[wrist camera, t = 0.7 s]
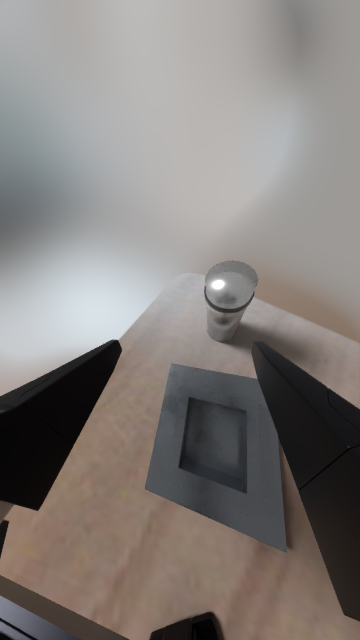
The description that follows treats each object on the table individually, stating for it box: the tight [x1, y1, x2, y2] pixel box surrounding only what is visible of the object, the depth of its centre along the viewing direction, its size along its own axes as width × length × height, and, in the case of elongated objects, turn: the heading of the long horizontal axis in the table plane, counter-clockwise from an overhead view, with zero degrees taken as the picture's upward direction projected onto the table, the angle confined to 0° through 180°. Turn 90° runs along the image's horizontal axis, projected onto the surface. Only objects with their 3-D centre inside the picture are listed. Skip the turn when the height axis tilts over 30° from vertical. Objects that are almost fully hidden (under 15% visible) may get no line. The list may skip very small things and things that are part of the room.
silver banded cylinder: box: [204, 261, 258, 342], centre depth 19 cm, size 5×5×13 cm
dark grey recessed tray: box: [145, 364, 287, 553], centre depth 17 cm, size 15×15×4 cm
